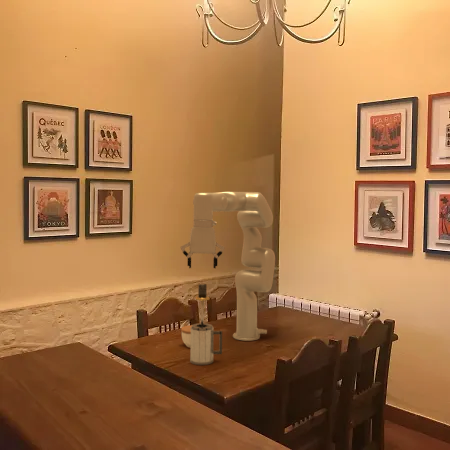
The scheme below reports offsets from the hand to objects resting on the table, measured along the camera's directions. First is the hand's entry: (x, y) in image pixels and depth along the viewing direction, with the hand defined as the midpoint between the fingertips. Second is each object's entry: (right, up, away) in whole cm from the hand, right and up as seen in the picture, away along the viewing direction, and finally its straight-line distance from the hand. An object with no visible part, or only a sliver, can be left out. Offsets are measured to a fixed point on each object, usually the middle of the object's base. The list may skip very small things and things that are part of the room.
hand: (202, 267), depth 197 cm
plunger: (0, -27, +2) cm, 27 cm away
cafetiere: (+1, -37, +3) cm, 37 cm away
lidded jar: (-5, -36, +23) cm, 43 cm away
